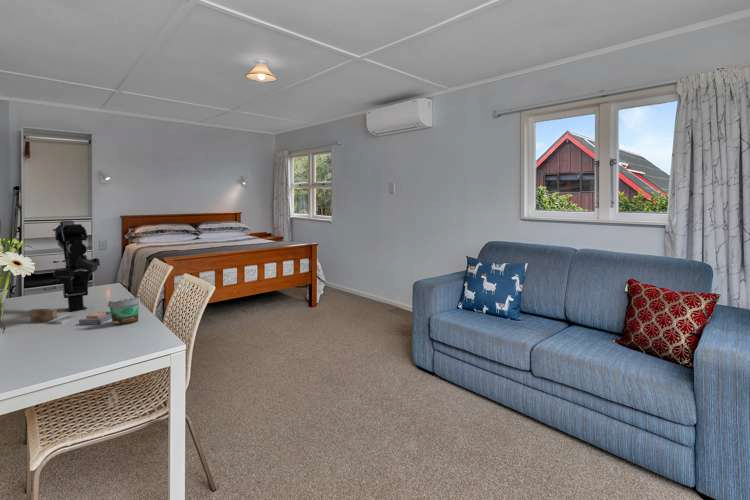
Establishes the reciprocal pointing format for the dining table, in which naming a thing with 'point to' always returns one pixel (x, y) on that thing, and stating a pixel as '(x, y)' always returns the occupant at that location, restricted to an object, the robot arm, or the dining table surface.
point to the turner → (48, 316)
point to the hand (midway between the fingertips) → (78, 289)
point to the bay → (96, 320)
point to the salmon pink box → (95, 315)
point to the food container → (124, 311)
